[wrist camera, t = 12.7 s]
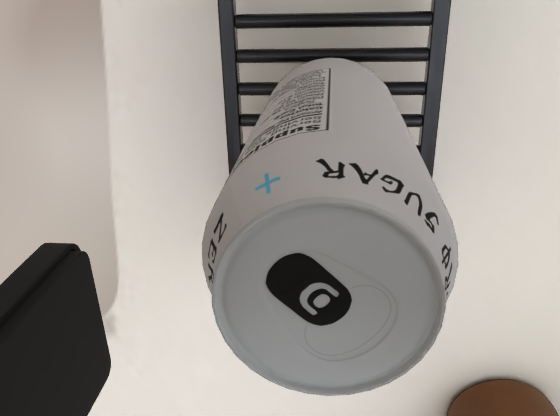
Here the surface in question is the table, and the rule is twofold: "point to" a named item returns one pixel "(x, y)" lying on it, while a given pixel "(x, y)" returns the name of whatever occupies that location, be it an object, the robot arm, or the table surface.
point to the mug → (502, 400)
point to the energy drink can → (330, 238)
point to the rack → (430, 54)
